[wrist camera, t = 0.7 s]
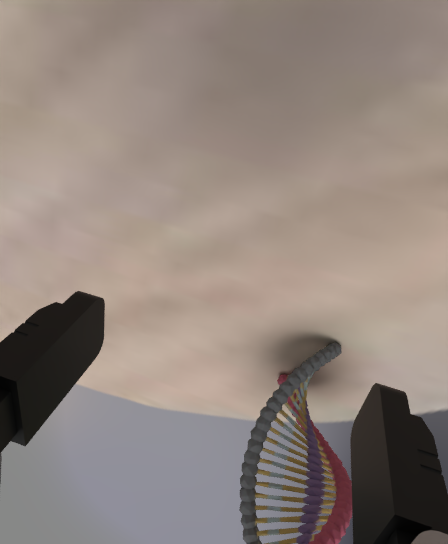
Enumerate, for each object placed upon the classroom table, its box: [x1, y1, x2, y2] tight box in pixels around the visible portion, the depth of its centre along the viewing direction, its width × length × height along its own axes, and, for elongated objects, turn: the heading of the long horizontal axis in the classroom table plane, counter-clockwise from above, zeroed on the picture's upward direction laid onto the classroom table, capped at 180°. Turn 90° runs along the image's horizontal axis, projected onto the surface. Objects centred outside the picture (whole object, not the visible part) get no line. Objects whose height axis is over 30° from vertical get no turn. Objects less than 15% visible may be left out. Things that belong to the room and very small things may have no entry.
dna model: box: [240, 342, 352, 544], centre depth 30 cm, size 9×9×30 cm
